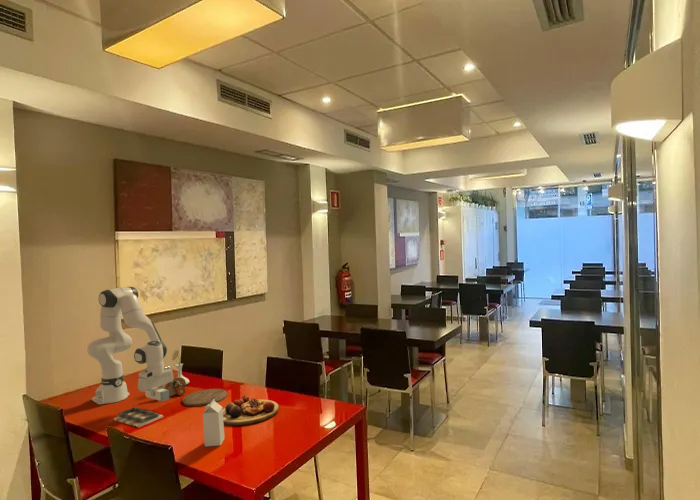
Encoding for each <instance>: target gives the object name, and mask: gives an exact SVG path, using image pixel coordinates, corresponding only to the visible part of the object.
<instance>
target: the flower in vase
mask: <svg viewBox="0 0 700 500" xmlns="http://www.w3.org/2000/svg"><path fill="white" fill-rule="evenodd" d="M179 353H180V351H179V349H178V348H177V349H174V351H173V353H172V355H171V360H172V362H173V361H176V362H177V363H178V364H174V366H175V367H176V369H177V373H179V374H177V375H176V377H181V378H183V379H184V380H185V382H186V385H188V384H189V383H190V380H189V378H188V377H185V376H184V375H183V374H182V369H183V365H184V363H181V358H180V357H179ZM177 382H179V381H177ZM179 384H180V383H179ZM181 385H182V384H181Z"/></svg>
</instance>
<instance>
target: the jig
mask: <svg viewBox="0 0 700 500" xmlns="http://www.w3.org/2000/svg"><path fill="white" fill-rule="evenodd" d="M162 418H164V415H163V414H159V413H158V412H155V411H151V410H147V409H144V408H139V407H135V406H134V407H131V408H128V409H126V410H123V411H120V412H118V416H116V417H113V420H114V421H115V422H119V423H122V424H126V425H129V426H133V427H135V426H136V427H137V428H141V427H143V426H145V425H148V424H151V423H153V422H155V421H158V420H159V419H162Z"/></svg>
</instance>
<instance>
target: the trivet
mask: <svg viewBox="0 0 700 500" xmlns="http://www.w3.org/2000/svg"><path fill="white" fill-rule="evenodd" d="M227 396H228V393H227V390H225V389H223V388H209V389H202V390H197V391H193V392H191V393H189V394H187V395H185V396H184V397H183V398H182V404H183V405H184V406H187V407H192V406H195V407H196V406H197V407H205V406H204V405H206V406H207V405H208V404H209V405H210V403H211V402H212V401H213V399H214V400H215V402H217V403H219V402H221V401H223V400H225V399H226V398H227ZM195 407H194V408H195ZM197 407H196V408H197Z"/></svg>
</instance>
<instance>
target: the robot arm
mask: <svg viewBox="0 0 700 500" xmlns="http://www.w3.org/2000/svg"><path fill="white" fill-rule="evenodd" d="M98 303H99V304H100V313H99V314H100V316H99V317H100V319H99V320H100V322H99V325H100V329H101V330H102V331H104V332H107V333H108V336H107V337H102V338H98V339H96V340H93V341H91V342H90V343H89V344H88V346H87V353H88V355H89V357H91V358H92V359H93V358H94V359H95V360H96V361H97V362H98V363H99V365H100V367H101V369H100V370H101V375H102V378H100V385H99V386H98V387H97V388H96V390H95V392H94V395H95V396H93V397H92V398H91V401H92V402H94V403H96V404H97V405H105V404H112V403H118V402H121V401H123V400H126V399H127V398H129V397H128V396H130V392H129V391H128V387H127V383H126V381H125V375H124V372H123V363H122V361H120V360H119V359H117V358H116V359H115V358H114V356H113V355H114V354H118V353H122V352H125V351H127V350H129V349H130V348H131V347H132V345H133V339H132V337H131V336H130V335H129V334H128V333H126V332H125V331H124V330H123V327H122V318H123V322H124V324H125V325H127V326H128V327H130V328H134V329H140V330H142V331H144V332H146V333H147V336H148V339H149V340H150V341H148V342H147V343H146V344H145V345H142V346H140V347H138V348H136V349H135V351H134V352H133V353H134V354H133V359H134V361H135V362H136V363H137V364H139V365H144V364H147V365H146V368H145V369H143V370H141V371H140V372H139V373H138V377H139V378H138V379H137V381H138V382H137V390H138V391H139V392H145V391H147V390H148V391H149V392H150V393H151V396H154V395H155V392H153V391H152V390H153V388H155V387H159V386H161V388H162V389H164V387H165V385H166V384H168V383H170V382H172V381H173V380H174V378H175V377H174V378H173V375H174V373H173V367H172V366H171V365H168V366H165V363H164V358H165V357H166V355H167V351H168V348H167V346H166V344H165V343H164V341H163V340H162V337H161V336H160V333H159V332H158V330H157V328H156V326H155V323H154V322H153V320H152V319H151V318H150V317H148V316H147V315H146V313H145V312H144V310H143V306H142V305H141V301H140V300H139V291H138V290H137V288H136V287H135V286H123V287H122V286H121V287H115V288H110V289H105V290H103V291H101V292H100V293H99V295H98Z"/></svg>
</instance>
